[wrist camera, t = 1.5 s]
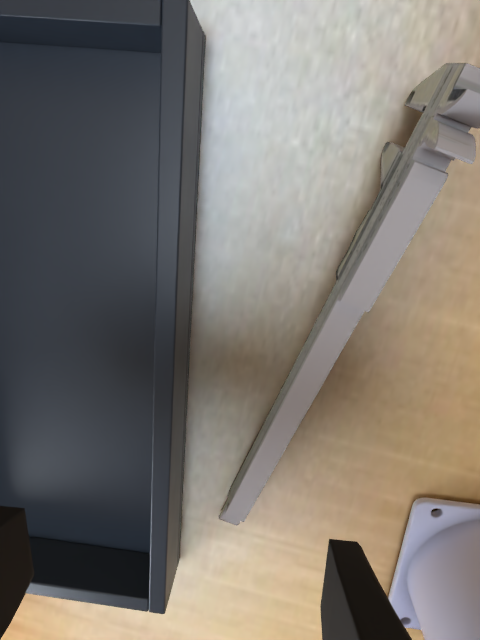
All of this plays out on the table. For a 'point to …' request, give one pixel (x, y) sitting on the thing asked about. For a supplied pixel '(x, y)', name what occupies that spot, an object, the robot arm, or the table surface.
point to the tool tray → (98, 287)
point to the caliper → (369, 260)
